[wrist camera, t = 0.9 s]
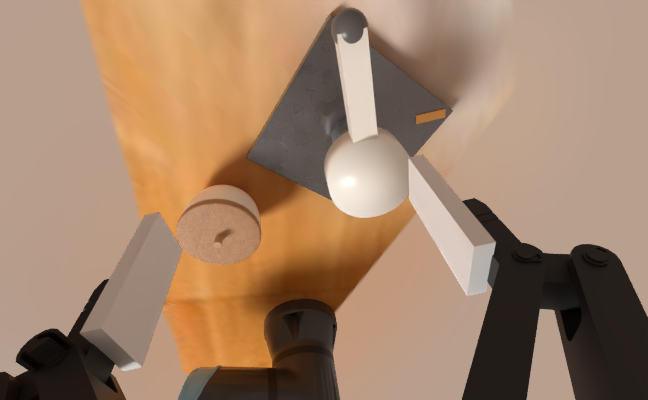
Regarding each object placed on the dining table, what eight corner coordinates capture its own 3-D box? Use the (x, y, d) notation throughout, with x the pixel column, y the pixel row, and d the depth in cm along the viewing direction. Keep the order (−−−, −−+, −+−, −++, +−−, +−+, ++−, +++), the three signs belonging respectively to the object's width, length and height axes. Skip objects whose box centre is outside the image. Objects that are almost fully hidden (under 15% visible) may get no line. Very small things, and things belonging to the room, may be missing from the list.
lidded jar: (183, 220, 49) (166, 265, 41) (197, 162, 44) (180, 201, 36) (251, 236, 52) (247, 280, 45) (272, 183, 47) (271, 223, 39)
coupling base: (360, 209, 52) (374, 250, 44) (247, 153, 44) (241, 191, 36) (447, 107, 43) (485, 134, 36) (329, 14, 35) (344, 23, 28)
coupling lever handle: (404, 187, 38) (416, 207, 35) (331, 204, 38) (336, 225, 35) (394, -7, 26) (411, -5, 23) (290, 18, 27) (292, 24, 23)
